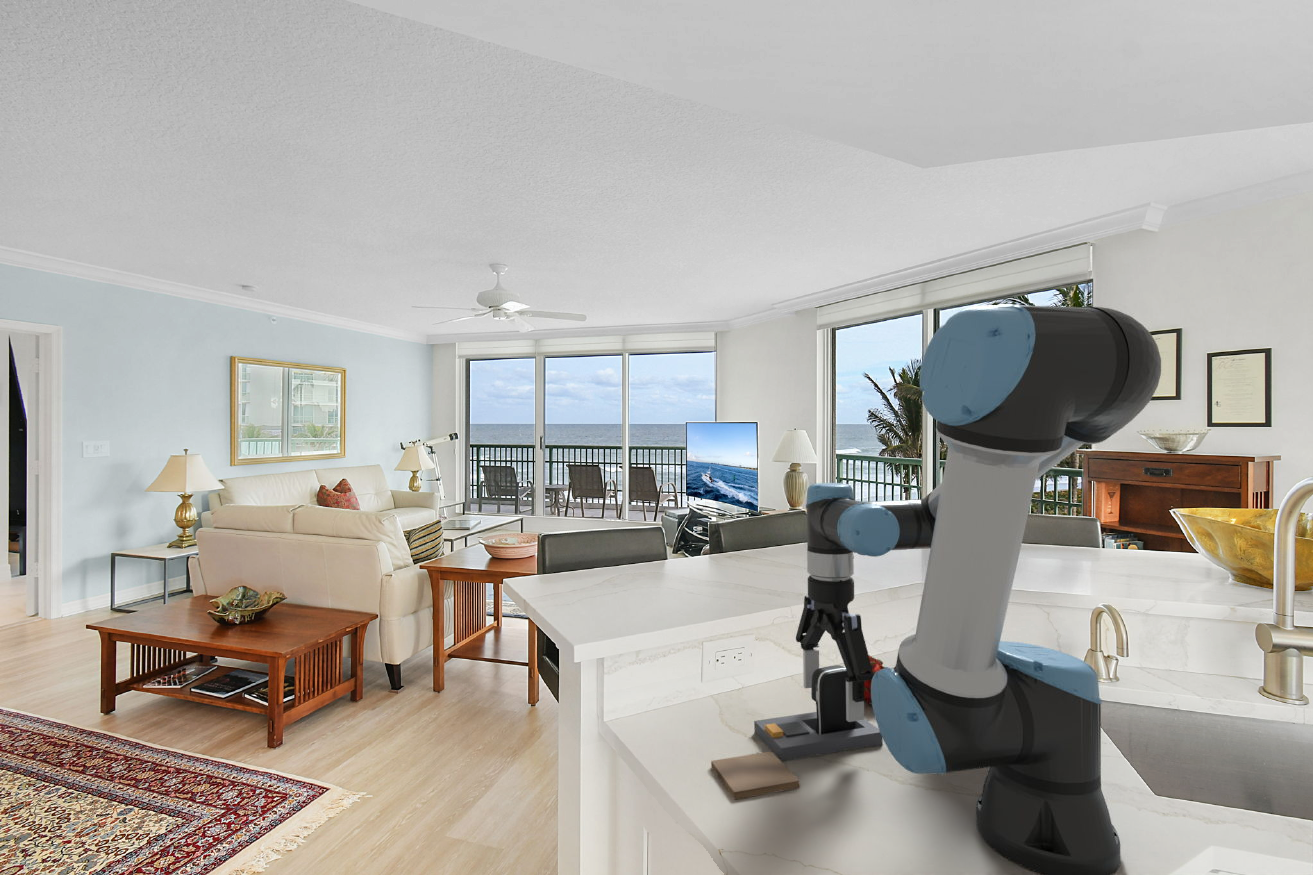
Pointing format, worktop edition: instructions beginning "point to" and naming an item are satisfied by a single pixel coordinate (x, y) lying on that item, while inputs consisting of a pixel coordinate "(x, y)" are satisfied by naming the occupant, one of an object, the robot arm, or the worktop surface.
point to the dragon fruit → (876, 667)
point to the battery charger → (830, 699)
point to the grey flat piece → (812, 736)
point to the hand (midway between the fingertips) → (832, 702)
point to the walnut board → (754, 775)
